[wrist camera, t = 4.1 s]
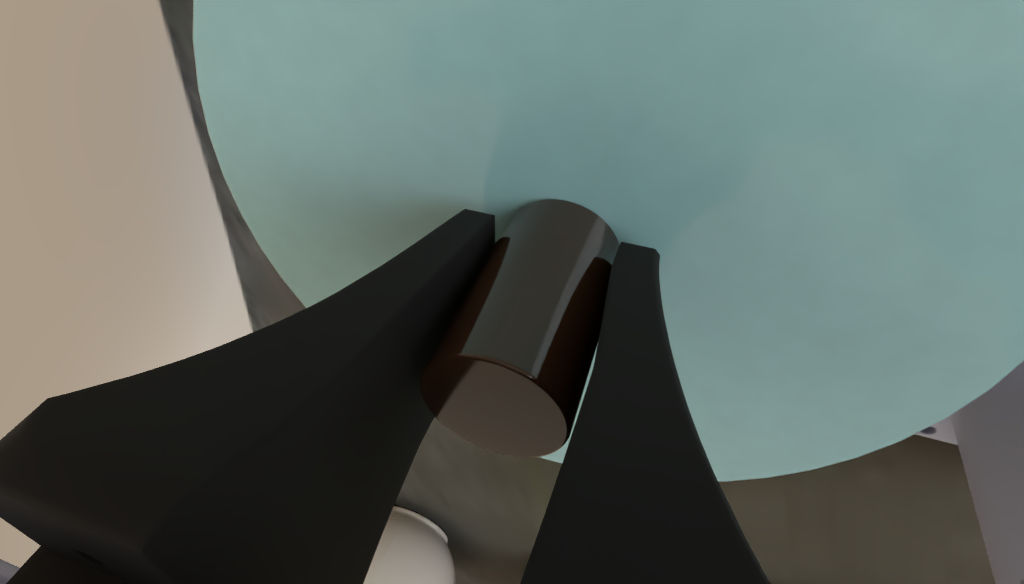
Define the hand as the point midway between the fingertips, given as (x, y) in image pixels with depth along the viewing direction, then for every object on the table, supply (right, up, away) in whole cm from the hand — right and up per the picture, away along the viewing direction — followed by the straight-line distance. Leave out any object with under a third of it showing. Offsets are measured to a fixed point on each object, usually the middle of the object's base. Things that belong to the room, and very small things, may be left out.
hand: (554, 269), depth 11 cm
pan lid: (0, +1, +1) cm, 1 cm away
